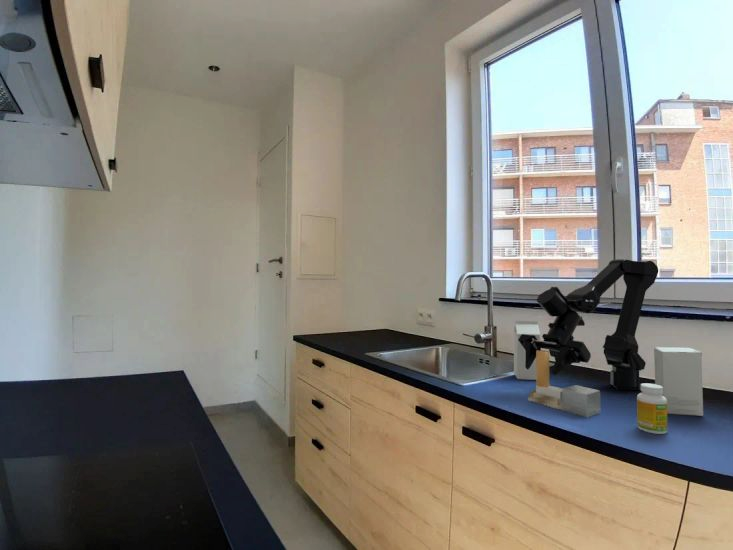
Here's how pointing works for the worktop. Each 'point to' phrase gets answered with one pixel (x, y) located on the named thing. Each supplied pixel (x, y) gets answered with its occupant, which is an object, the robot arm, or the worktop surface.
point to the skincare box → (680, 379)
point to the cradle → (545, 400)
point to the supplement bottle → (652, 409)
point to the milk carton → (520, 352)
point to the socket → (581, 400)
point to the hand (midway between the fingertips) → (539, 371)
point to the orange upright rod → (545, 377)
